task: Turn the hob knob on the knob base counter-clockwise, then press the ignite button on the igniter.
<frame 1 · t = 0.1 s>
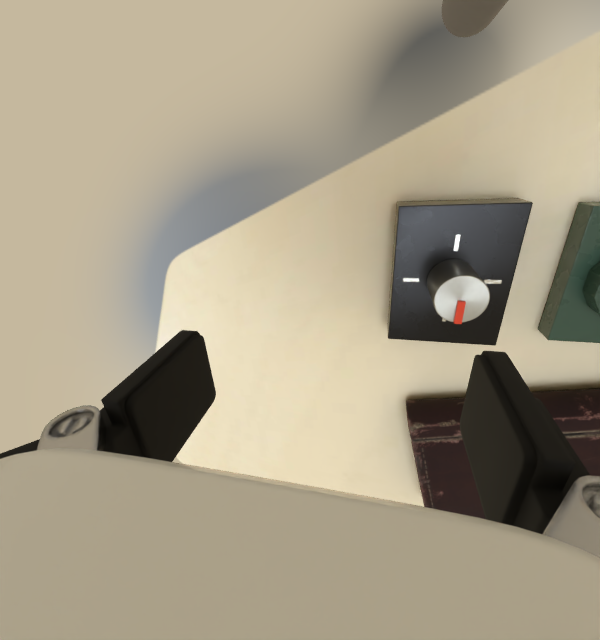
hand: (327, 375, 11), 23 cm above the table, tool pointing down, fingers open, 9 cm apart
knob base: (444, 269, 31), on the table
diary: (523, 444, 38), on the table
hob knob: (455, 290, 26), point 5 cm above the table, hinge at 0.0°
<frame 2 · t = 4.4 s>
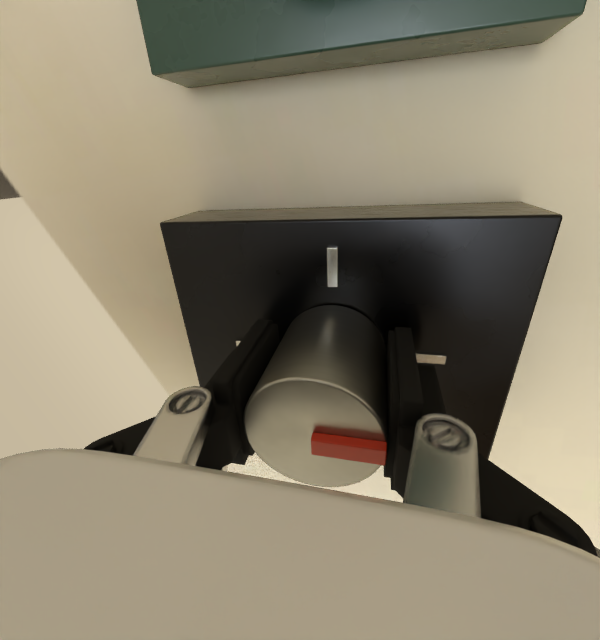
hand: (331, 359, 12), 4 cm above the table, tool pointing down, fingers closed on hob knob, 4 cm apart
knob base: (341, 316, 15), on the table
hob knob: (323, 389, 10), point 5 cm above the table, hinge at 0.2°, touching gripper
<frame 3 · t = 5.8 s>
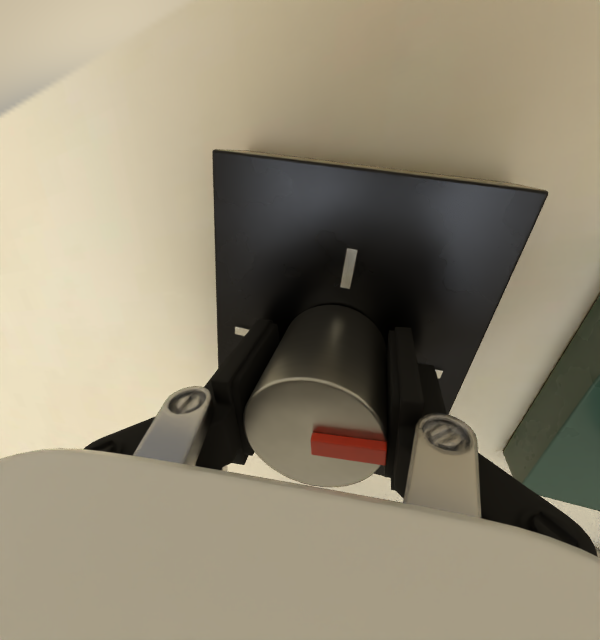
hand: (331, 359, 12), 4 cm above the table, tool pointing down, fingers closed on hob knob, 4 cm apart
knob base: (341, 316, 15), on the table
hob knob: (323, 389, 10), point 5 cm above the table, hinge at 99.8°, touching gripper
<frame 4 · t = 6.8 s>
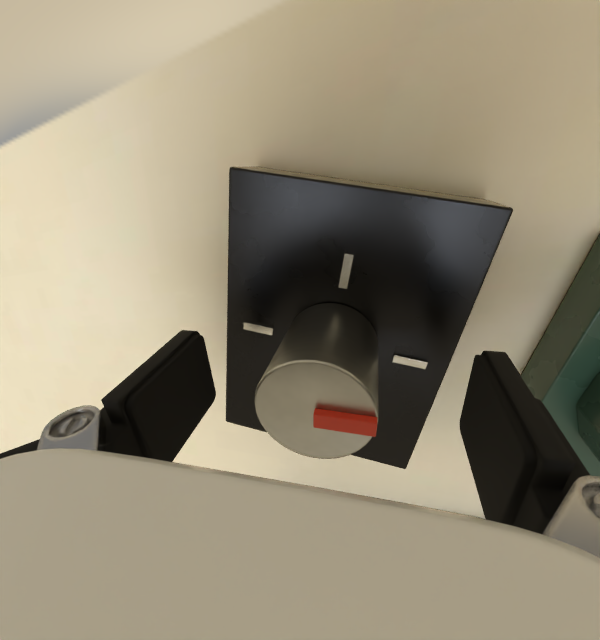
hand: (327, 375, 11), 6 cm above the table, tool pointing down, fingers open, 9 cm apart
knob base: (339, 315, 17), on the table
hob knob: (323, 375, 12), point 5 cm above the table, hinge at 97.8°
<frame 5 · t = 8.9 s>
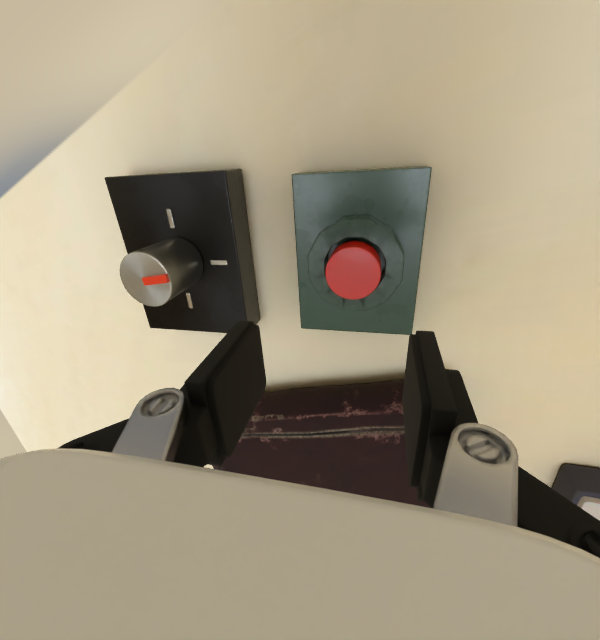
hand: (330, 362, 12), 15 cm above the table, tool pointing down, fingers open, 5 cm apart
knob base: (199, 252, 28), on the table
ignite button: (353, 270, 21), point 4 cm above the table, slide at 0.1 cm
diary: (334, 444, 36), on the table
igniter: (357, 252, 25), on the table
hob knob: (163, 271, 24), point 5 cm above the table, hinge at 97.8°
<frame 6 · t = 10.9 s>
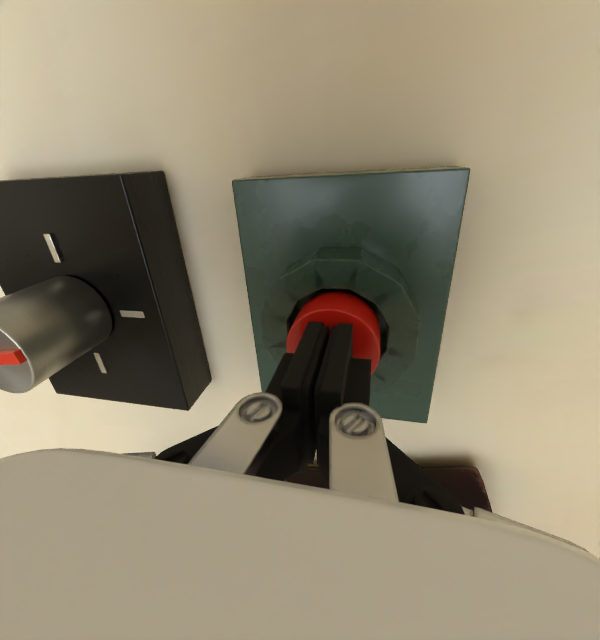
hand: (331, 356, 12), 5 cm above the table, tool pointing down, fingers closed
knob base: (120, 289, 20), on the table
ignite button: (334, 340, 13), point 4 cm above the table, slide at 0.0 cm, touching gripper
diary: (319, 530, 27), on the table
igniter: (345, 297, 17), on the table
hob knob: (38, 332, 15), point 5 cm above the table, hinge at 97.8°
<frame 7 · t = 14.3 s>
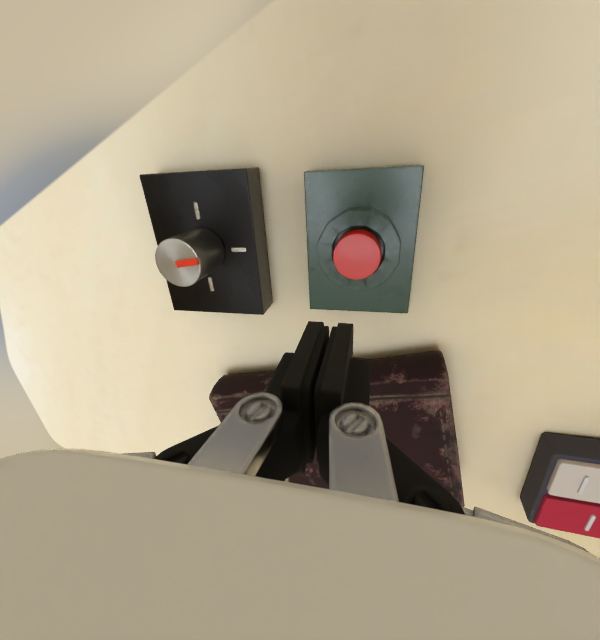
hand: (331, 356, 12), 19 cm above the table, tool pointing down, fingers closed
knob base: (219, 241, 32), on the table
ignite button: (357, 254, 25), point 4 cm above the table, slide at 0.1 cm
diary: (338, 418, 39), on the table
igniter: (360, 241, 29), on the table
hob knob: (191, 256, 27), point 5 cm above the table, hinge at 97.8°
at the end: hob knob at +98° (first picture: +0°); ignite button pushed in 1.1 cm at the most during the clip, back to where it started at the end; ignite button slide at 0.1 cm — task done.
